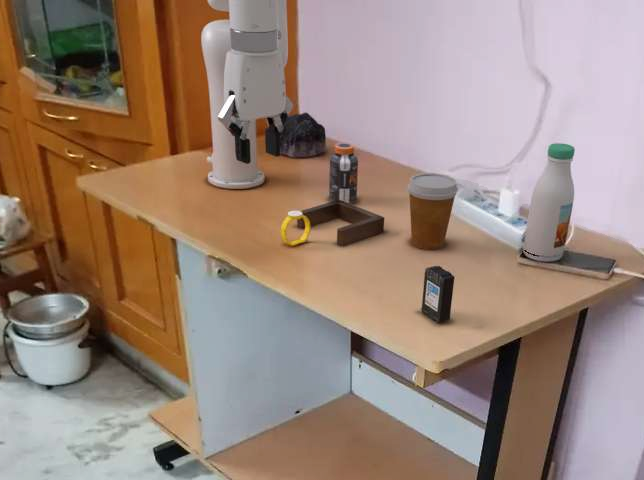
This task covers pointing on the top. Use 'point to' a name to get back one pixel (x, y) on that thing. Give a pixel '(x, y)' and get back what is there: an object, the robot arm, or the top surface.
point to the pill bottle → (343, 174)
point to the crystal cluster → (302, 136)
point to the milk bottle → (551, 206)
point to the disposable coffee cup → (430, 208)
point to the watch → (289, 218)
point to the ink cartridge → (437, 293)
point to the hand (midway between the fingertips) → (258, 157)
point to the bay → (361, 219)
